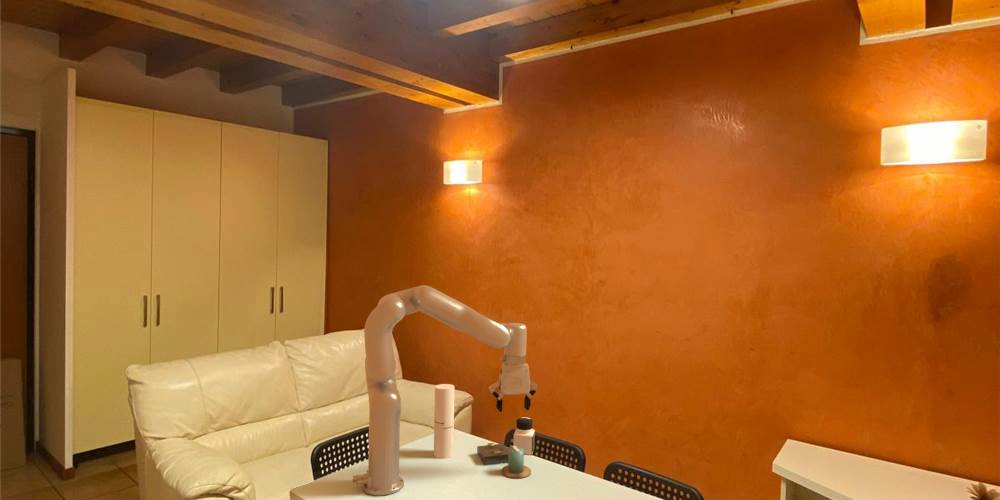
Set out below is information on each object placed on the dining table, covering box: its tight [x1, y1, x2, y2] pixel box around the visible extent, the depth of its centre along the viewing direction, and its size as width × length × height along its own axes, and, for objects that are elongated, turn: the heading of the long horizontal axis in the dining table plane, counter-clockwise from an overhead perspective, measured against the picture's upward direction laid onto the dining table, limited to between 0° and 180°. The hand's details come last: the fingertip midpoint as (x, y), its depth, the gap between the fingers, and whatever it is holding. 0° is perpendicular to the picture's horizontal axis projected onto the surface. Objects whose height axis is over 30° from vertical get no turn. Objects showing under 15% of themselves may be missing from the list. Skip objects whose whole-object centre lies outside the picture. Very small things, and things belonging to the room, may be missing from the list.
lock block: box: [476, 442, 509, 466], centre depth 182 cm, size 10×10×4 cm
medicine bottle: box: [512, 416, 536, 456], centre depth 189 cm, size 7×7×12 cm
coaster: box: [501, 464, 532, 480], centre depth 170 cm, size 10×10×1 cm
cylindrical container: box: [433, 383, 455, 460], centre depth 184 cm, size 7×7×25 cm
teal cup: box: [507, 445, 525, 474], centre depth 170 cm, size 5×5×7 cm
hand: (513, 409), depth 171 cm, fingers open, 9 cm apart
